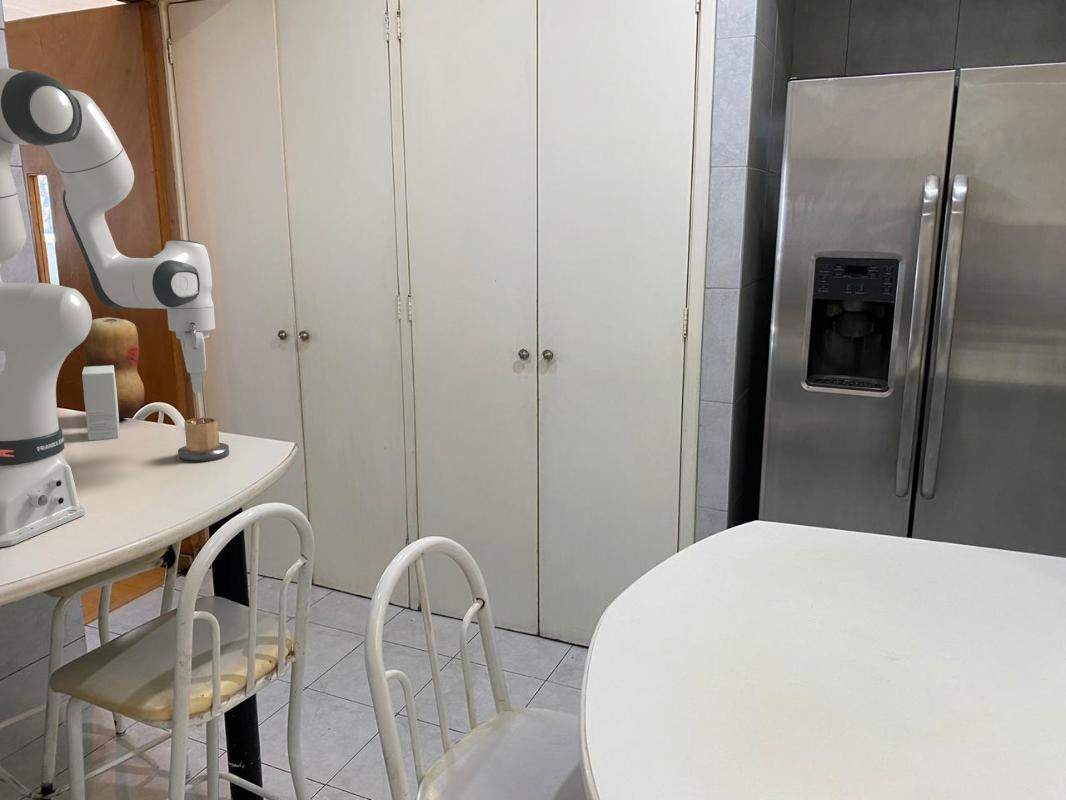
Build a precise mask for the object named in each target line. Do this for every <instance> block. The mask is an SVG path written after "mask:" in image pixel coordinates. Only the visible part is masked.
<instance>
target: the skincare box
mask: <svg viewBox="0 0 1066 800" xmlns="http://www.w3.org/2000/svg"><path fill="white" fill-rule="evenodd" d="M81 376H82V377H81V378H82V385H83V386H82V388H83V389H82V391H83V390H84V400H85V406H84V407H85V418H86V419H85V420H86V428H87V439H88V441H89V442H91V441H93V442H94V441H101V440H104V441H105V440H113V439H112V438H115V439H119V438H120V420H119V414H118V401H117V390H116V381H115V372H114V365H109V366H92V367H86V366H84V367H83V369H82V372H81Z"/></svg>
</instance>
